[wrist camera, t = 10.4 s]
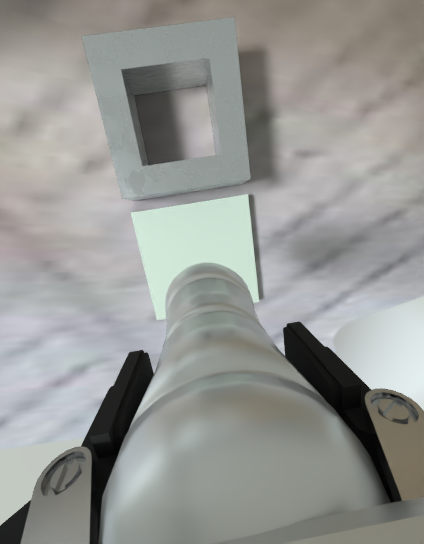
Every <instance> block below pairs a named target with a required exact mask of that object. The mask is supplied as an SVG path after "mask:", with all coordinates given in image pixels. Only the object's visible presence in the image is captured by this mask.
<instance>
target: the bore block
mask: <svg viewBox="0 0 424 544" xmlns="http://www.w3.org/2000/svg"><path fill="white" fill-rule="evenodd" d="M82 40H83V44H84V48H85V52H86V56H87V60H88V64H89V68H90V72H91V76H92V80H93V84H94V88H95V92H96V96H97V100H98V104H99V108H100V112H101V116H102V120H103V124H104V128H105V132H106V136H107V140H108V144H109V148H110V152H111V156H112V160H113V164H114V168H115V172H116V176H117V180H118V184H119V188H120V192H121V196H122V199H126V200H131V201H137V200H143V199H150V198H156V197H163V196H169V195H175V194H182V193H188V192H194V191H201V190H207V189H214V188H220V187H226V186H233V185H239V184H243V183H244V182H246V181H248V180H249V179H251V177H250V167H249V157H248V147H247V137H246V127H245V117H244V107H243V97H242V87H241V77H240V67H239V57H238V47H237V37H236V27H235V17H232V18H224V19H216V20H208V21H200V22H192V23H184V24H176V25H168V26H159V27H151V28H143V29H135V30H127V31H119V32H111V33H103V34H95V35H87V36H82ZM205 85H206V86H207V93H208V101H209V108H210V115H211V123H212V130H213V137H214V145H215V152H216V155H214V156H208V157H201V158H194V159H188V160H181V161H174V162H168V163H161V164H154V165H148V160H147V155H146V150H145V146H144V141H143V136H142V132H141V127H140V122H139V117H138V113H137V108H136V103H135V99H134V95H139V94H147V93H154V92H161V91H169V90H176V89H183V88H190V87H198V86H205Z"/></svg>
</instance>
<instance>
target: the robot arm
mask: <svg viewBox="0 0 424 544" xmlns="http://www.w3.org/2000/svg"><path fill="white" fill-rule="evenodd" d="M283 333H284V346H285V357H286V358H287V359H288V360H289V361H290V362H291V363H292V365H293V366H294V367H295V368H296V369H297V370H298V371H299V372H300V373H301V374H302V375H303V376H304V377H305V378H306V380H307V381H308V382H309V383H310V384H311V385H312V386H313V387H314V388H315V389H316V390H317V391H318V392H319V393H320V395H321V396H322V397H323V398H324V399H325V401H326V402H327V403H328V404H329V405H331V406H332V407H333V408H334V409H335V411H336V412H337V413H338V414H339V416H340V417H341V418H342V420H343V421H344V422H345V423H346V425H347V426H348V427H349V428H350V429H351V431H352V432H353V433H354V434H355V435H356V437H357V438H358V439H359V440H360V442H361V443H362V445H363V446H364V448H365V449H366V451H367V452H368V453H369V455H370V456H371V459H372V461H373V463H374V465H375V468H376V470H377V472H378V474H379V477H380V479H381V481H382V484H383V486H384V488H385V490H386V493H387V495H388V497H389V500H390V502H391V503H388V504H383V505H378V506H374V507H369V508H364V509H359V510H354V511H349V512H344V513H340V514H335V515H330V516H325V517H320V518H315V519H310V520H306V521H301V522H297V523H294V524H291V525H288V526H285V527H281V528H278V529H274V530H270V531H267V532H263V533H260V534H256V535H252V536H247V537H242V538H237V539H232V540H227V541H222V542H217V543H209V544H424V411H423V410H422V409H421V407H420V406H419V405H418V404H417V403H416V402H414V401H413V400H412V399H410V398H409V397H407V396H405V395H403V394H401V393H398V392H396V391H393V390H388V389H374V390H371V389H369V387H368V386H367V385H366V384H365V383H364V382H363V381H362V380H361V379H360V378H359V377H358V376H357V375H356V374H355V373H354V372H353V371H352V370H351V369H350V368H349V367H348V366H347V365H346V364H345V363H344V362H343V361H342V360H341V359H340V358H339V357H338V356H337V355H336V354H335V353H334V352H333V351H332V350H331V349H329V348H328V347H324V346H323V345H322V344H321V343H320V342H319V341H318V340H317V339H316V338H315V337H314V336H313V335H312V334H311V333H310V331H309V330H308V329H307V328H306V327H305V326H304V325H303V324H302V323H301V322H294V323H289V324H287V327H284V328H283ZM153 375H154V373H153V370H152V366H151V362H150V358H149V355H148V353H144V351H143V350H140V351H134V352H130V353H129V354H128V356H127V358H126V360H125V363H124V365H123V367H122V369H121V371H120V373H119V375H118V377H117V379H116V382H115V384H114V386H112V387H110V389H109V390H108V392H107V394H106V396H105V398H104V400H103V402H102V404H101V407H100V409H99V411H98V413H97V415H96V417H95V419H94V421H93V423H92V425H91V427H90V429H89V431H88V433H87V435H86V437H85V439H84V441H83V443H82V445H81V447H74V448H72V449H69V450H67V451H65V452H64V453H62V454H61V455H59V456H58V457H57V458H55V459H54V460H53V461H52V462H51V463H50V464H49V465H48V466H47V467H46V468H45V469H44V471H43V472H42V474H41V475H40V477H39V478H38V480H37V483H36V485H35V488H34V491H33V495H32V499H31V500H30V501H29V502H28V503H27V504H25V505H24V506H23V507H22V508H21V509H20V510H18V511H17V512H16V513H15V514H14V515H12V516H11V517H10V518H9V519H8V520H6V521H5V522H4V523H3V524H2V525H1V526H0V544H98V542H99V530H100V518H101V506H102V496H103V493H104V491H105V488H106V485H107V483H108V480H109V477H110V475H111V472H112V470H113V467H114V465H115V462H116V459H117V456H118V454H119V451H120V448H121V446H122V443H123V440H124V438H125V435H126V434H127V433H128V431H129V428H130V425H131V423H132V421H133V419H134V416H135V414H136V412H137V410H138V408H139V406H140V403H141V401H142V399H143V397H144V395H145V393H146V390H147V388H148V386H149V384H150V382H151V380H152V377H153Z"/></svg>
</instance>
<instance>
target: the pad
mask: <svg viewBox="0 0 424 544" xmlns="http://www.w3.org/2000/svg"><path fill="white" fill-rule="evenodd" d="M131 216H132V220H133V224H134V228H135V233H136V237H137V241H138V245H139V249H140V253H141V257H142V261H143V265H144V269H145V273H146V277H147V281H148V286H149V290H150V294H151V298H152V302H153V306H154V310H155V314H156V318H157V320H160V319H166V312H165V300H166V293H167V291H168V288H169V286H170V284H171V283H172V281H173V279H174V278H175V277H176V276H177V275H178V274H179V273H180V272H182V271H183V270H184V269H186V268H187V267H189V266H192V265H194V264H198V263H203V262H211V263H217V264H220V265H223V266H225V267H227V268H230V269H231V270H233V271H234V272H236V273H237V274H238V275H239V276H240V277H241V278H242V279H243V280H244V282H245V283H246V284H247V286H248V289H249V291H250V293H251V296H252V299H253V303H255V302H259V294H258V285H257V275H256V266H255V256H254V247H253V237H252V228H251V218H250V209H249V199H248V194H246V195H240V196H234V197H228V198H221V199H215V200H209V201H202V202H196V203H190V204H183V205H177V206H171V207H165V208H158V209H152V210H146V211H139V212H133V213H131Z"/></svg>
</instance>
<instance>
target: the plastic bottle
mask: <svg viewBox="0 0 424 544" xmlns="http://www.w3.org/2000/svg"><path fill="white" fill-rule="evenodd" d="M165 312H166V320H167V328H166V339H165V342H164V345H163V350H162V352H161V355H160V358H159V361H158V365H157V368H156V371H155V373H154V375H153V377H152V380H151V382H150V384H149V386H148V388H147V390H146V393H145V395H144V397H143V399H142V401H141V403H140V406H139V408H138V410H137V412H136V414H135V416H134V419H133V421H132V423H131V425H130V428H129V431H128V433H127V434H126V435H125V438H124V440H123V443H122V446H121V448H120V451H119V454H118V456H117V459H116V462H115V465H114V467H113V470H112V472H111V475H110V477H109V480H108V483H107V485H106V488H105V491H104V493H103V496H102V506H101V518H100V530H99V542H98V544H209V543H217V542H222V541H227V540H232V539H237V538H242V537H247V536H252V535H256V534H260V533H263V532H267V531H270V530H274V529H278V528H281V527H285V526H288V525H291V524H294V523H297V522H301V521H306V520H310V519H315V518H320V517H325V516H330V515H335V514H340V513H344V512H349V511H354V510H359V509H364V508H369V507H374V506H378V505H383V504H388V503H391V502H390V500H389V497H388V495H387V493H386V490H385V488H384V486H383V484H382V481H381V479H380V477H379V474H378V472H377V470H376V468H375V465H374V463H373V461H372V459H371V456H370V455H369V453H368V452H367V451H366V449H365V448H364V446H363V445H362V443H361V442H360V440H359V439H358V438H357V437H356V435H355V434H354V433H353V432H352V431H351V429H350V428H349V427H348V426H347V425H346V423H345V422H344V421H343V420H342V418H341V417H340V416H339V414H338V413H337V412H336V411H335V409H334V408H333V407H332V406H331V405H329V404H328V403H327V402H326V401H325V399H324V398H323V397H322V396H321V395H320V393H319V392H318V391H317V390H316V389H315V388H314V387H313V386H312V385H311V384H310V383H309V382H308V381H307V380H306V378H305V377H304V376H303V375H302V374H301V373H300V372H299V371H298V370H297V369H296V368H295V367H294V366H293V365H292V363H291V362H290V361H289V360H288V359H287V358H286V357H285V356H284V355H283V354H282V353H281V352H280V351H279V349H278V348H277V346H276V345H275V344H274V342H273V341H272V339H271V338H270V337H269V335H268V334H267V333H266V331H265V330H264V328H263V327H262V326H261V324H260V322H259V319H258V317H257V315H256V312H255V310H254V304H253V299H252V296H251V293H250V291H249V289H248V286H247V284H246V283H245V282H244V280H243V279H242V278H241V277H240V276H239V275H238V274H237V273H236V272H234V271H233V270H231V269H230V268H227V267H225V266H223V265H220V264H217V263H211V262H203V263H198V264H194V265H192V266H189V267H187V268H186V269H184V270H183V271H182V272H180V273H179V274H178V275H177V276H176V277H175V278H174V279H173V281H172V283H171V284H170V286H169V288H168V291H167V293H166V300H165Z"/></svg>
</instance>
